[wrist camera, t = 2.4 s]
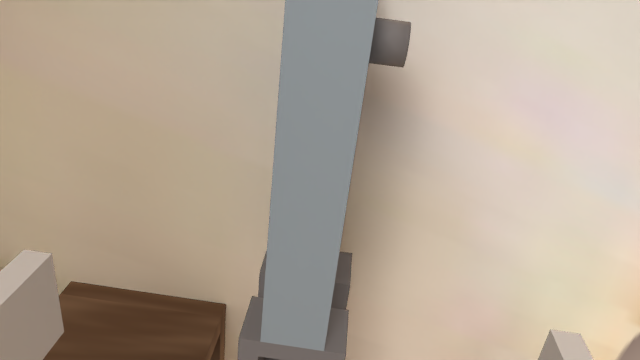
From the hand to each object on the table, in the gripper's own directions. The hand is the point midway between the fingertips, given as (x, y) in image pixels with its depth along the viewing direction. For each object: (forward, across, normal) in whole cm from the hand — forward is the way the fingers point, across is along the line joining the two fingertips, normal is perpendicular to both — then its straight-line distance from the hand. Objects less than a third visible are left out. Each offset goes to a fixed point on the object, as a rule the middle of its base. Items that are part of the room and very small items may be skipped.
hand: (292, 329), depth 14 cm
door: (+14, 0, 0) cm, 14 cm away
